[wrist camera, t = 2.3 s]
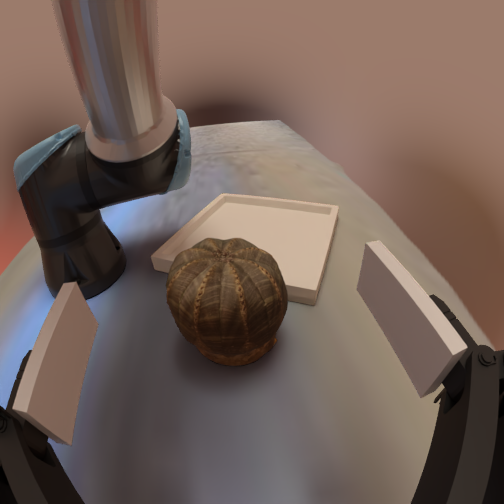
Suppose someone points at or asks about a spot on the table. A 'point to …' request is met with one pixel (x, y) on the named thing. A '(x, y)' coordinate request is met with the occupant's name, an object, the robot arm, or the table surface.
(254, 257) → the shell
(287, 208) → the tray
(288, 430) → the table surface
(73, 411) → the robot arm
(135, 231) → the table surface
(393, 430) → the table surface
